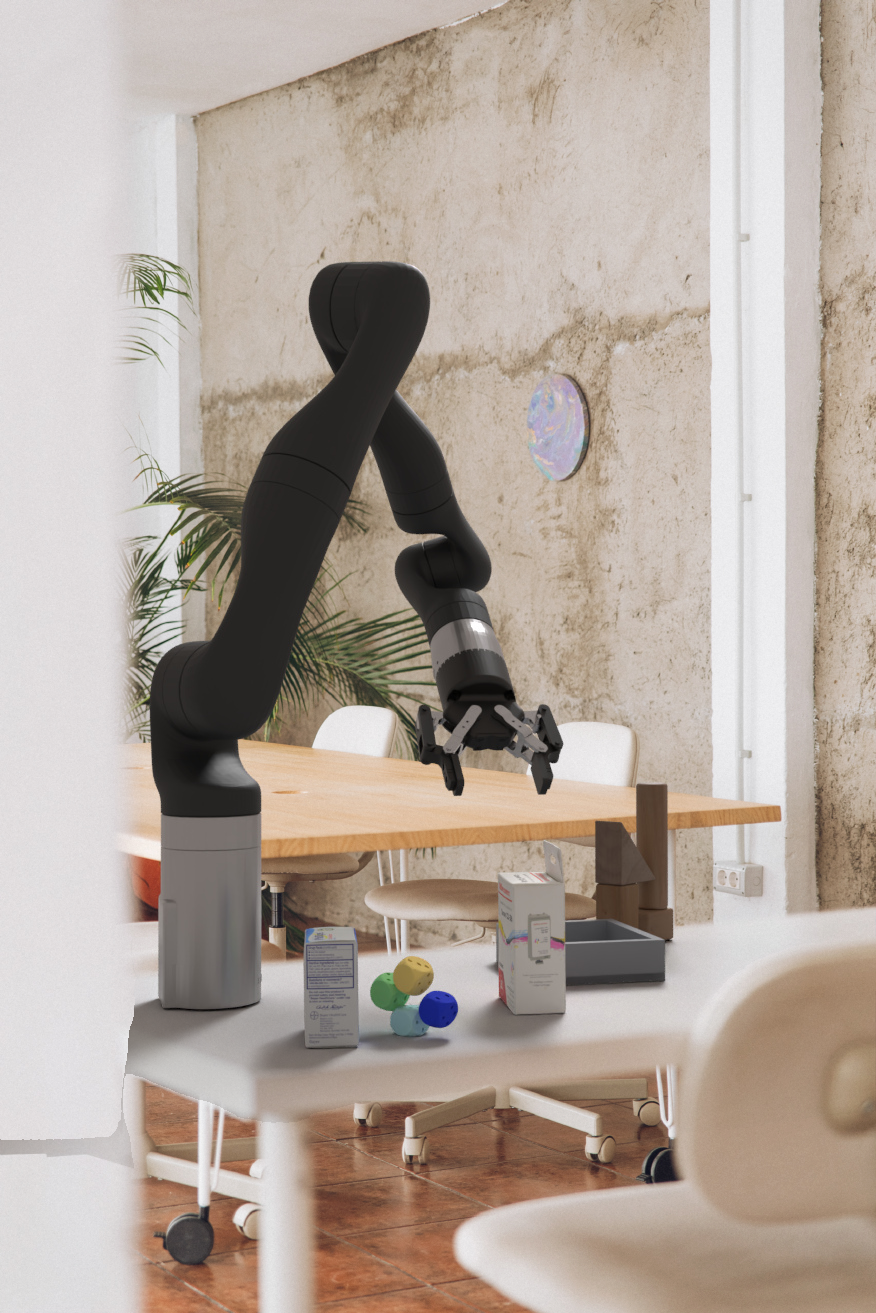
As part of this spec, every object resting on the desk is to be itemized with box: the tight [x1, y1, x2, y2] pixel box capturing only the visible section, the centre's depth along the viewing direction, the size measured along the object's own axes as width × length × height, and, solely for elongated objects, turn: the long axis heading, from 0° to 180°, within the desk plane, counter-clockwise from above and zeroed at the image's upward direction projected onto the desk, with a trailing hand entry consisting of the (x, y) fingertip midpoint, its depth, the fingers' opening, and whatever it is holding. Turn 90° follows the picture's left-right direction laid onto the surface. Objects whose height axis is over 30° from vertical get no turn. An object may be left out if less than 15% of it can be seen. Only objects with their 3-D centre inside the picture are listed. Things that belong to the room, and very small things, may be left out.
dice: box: [369, 955, 459, 1037], centre depth 133 cm, size 8×3×6 cm, turn 53°
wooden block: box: [594, 781, 674, 941], centre depth 181 cm, size 4×11×18 cm, turn 140°
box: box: [495, 918, 666, 986], centre depth 163 cm, size 13×15×4 cm
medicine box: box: [302, 926, 360, 1049], centre depth 132 cm, size 8×4×9 cm, turn 5°
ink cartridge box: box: [497, 839, 567, 1016], centre depth 145 cm, size 9×5×15 cm, turn 8°
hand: (502, 789), depth 154 cm, fingers open, 8 cm apart
